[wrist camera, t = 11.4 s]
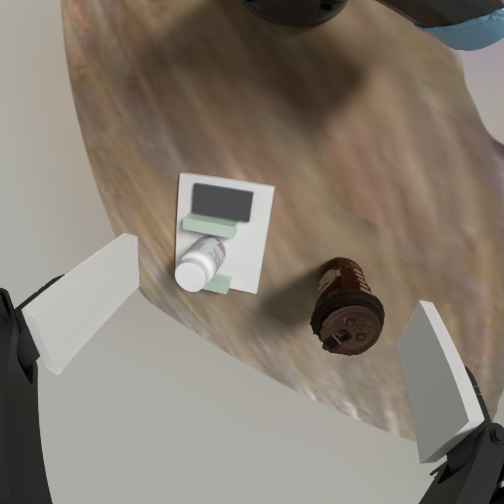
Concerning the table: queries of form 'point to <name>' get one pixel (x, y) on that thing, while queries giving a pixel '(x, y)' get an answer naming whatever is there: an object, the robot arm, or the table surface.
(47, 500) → the robot arm
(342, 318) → the coffee cup
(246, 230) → the dock
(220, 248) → the pill bottle
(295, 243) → the table surface
